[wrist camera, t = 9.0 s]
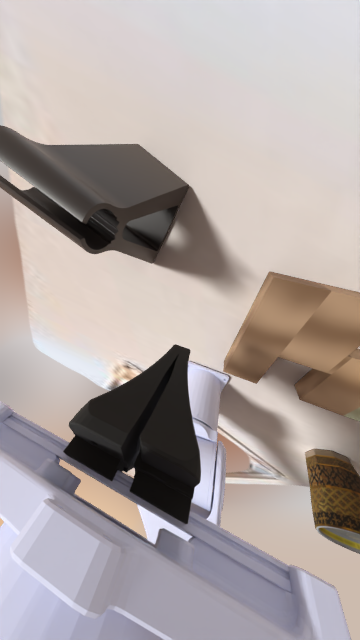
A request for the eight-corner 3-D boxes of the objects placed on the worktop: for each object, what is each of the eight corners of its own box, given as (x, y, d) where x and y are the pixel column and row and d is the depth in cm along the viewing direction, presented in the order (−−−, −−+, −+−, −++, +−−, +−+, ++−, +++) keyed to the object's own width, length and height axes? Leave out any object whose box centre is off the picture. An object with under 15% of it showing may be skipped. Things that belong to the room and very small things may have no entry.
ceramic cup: (302, 465, 33) (323, 541, 25) (289, 441, 30) (308, 518, 22) (389, 478, 26) (457, 588, 18) (383, 449, 23) (460, 564, 15)
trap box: (361, 408, 21) (386, 445, 17) (224, 360, 24) (222, 382, 21) (511, 328, 12) (621, 367, 9) (269, 271, 16) (278, 283, 12)
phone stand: (153, 263, 20) (74, 295, 10) (116, 235, 19) (-2, 241, 10) (189, 186, 14) (96, 98, 5) (140, 145, 14) (-68, -39, 4)
